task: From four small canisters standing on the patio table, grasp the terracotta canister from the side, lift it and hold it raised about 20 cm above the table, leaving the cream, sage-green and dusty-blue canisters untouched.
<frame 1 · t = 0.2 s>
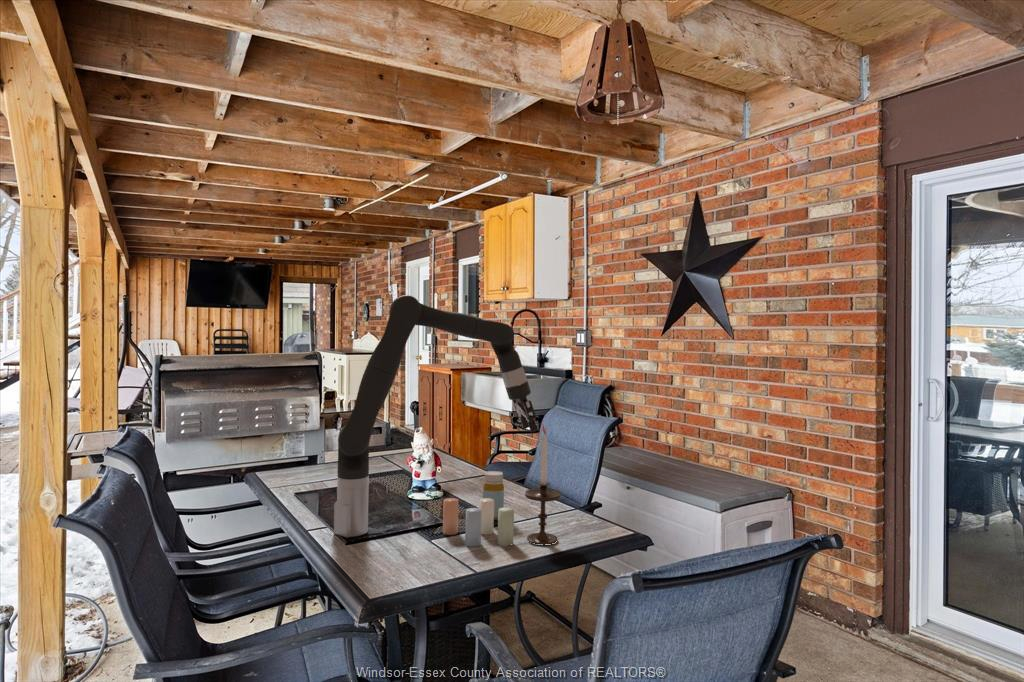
hand: (530, 429, 201), 30 cm above the table, tool tilted 20°, fingers open, 8 cm apart
bottle: (492, 518, 205), on the table
sage canister: (505, 543, 181), on the table
terracotta canister: (450, 532, 190), on the table
dusty blue canister: (472, 544, 180), on the table
cream canister: (486, 532, 191), on the table
candlestick: (542, 541, 184), on the table
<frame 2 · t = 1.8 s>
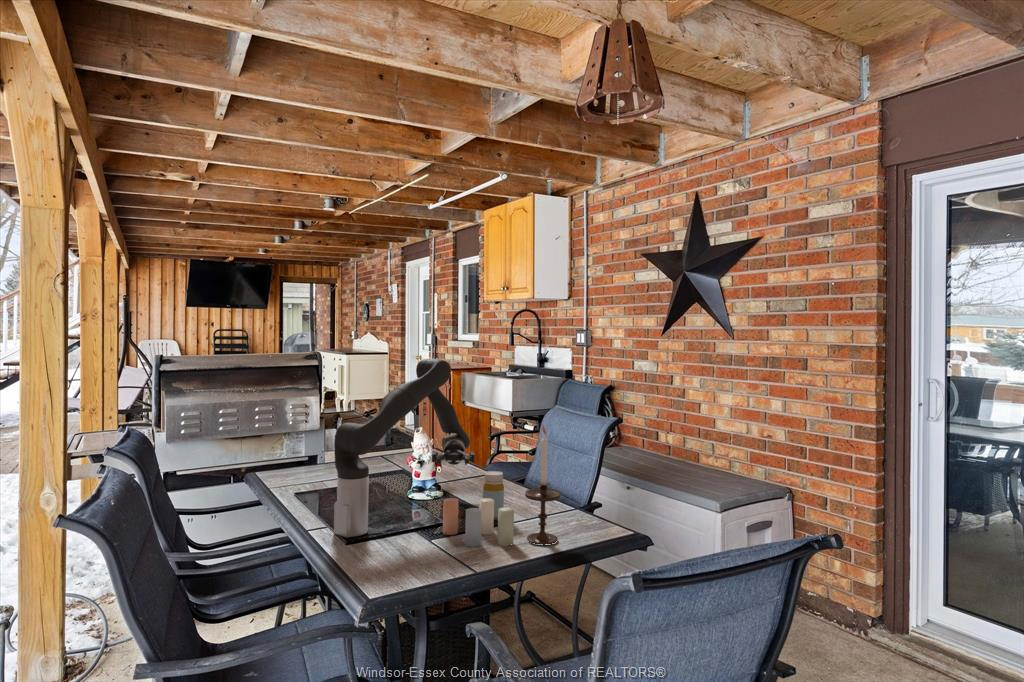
hand: (452, 461, 201), 19 cm above the table, tool horizontal, fingers open, 8 cm apart
nothing on the table moved.
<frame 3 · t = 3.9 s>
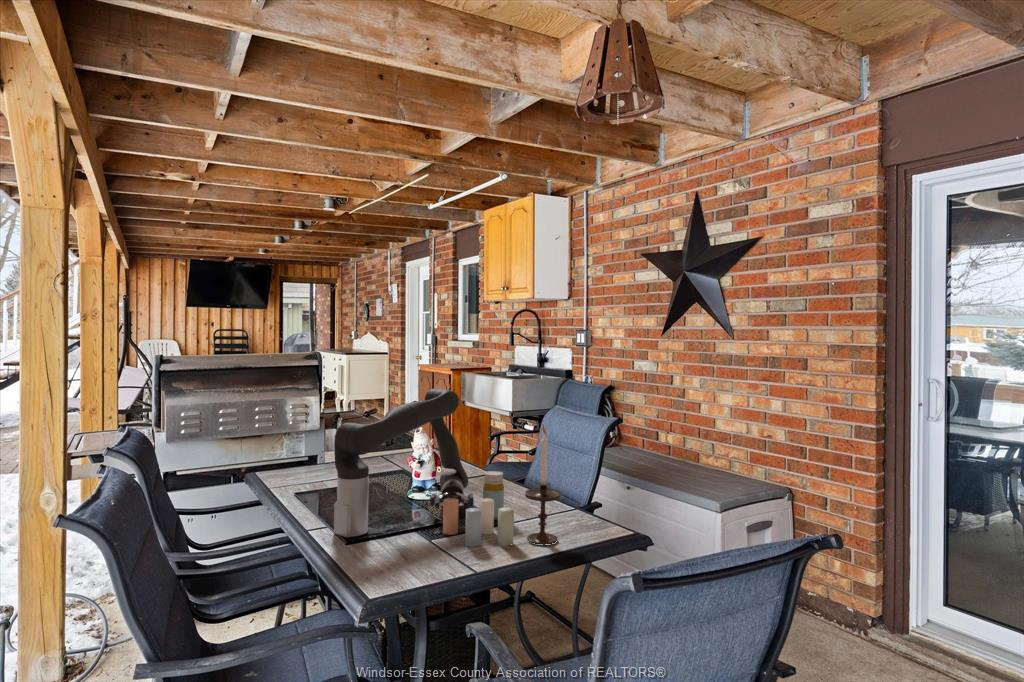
hand: (451, 505, 197), 6 cm above the table, tool horizontal, fingers open, 8 cm apart
nothing on the table moved.
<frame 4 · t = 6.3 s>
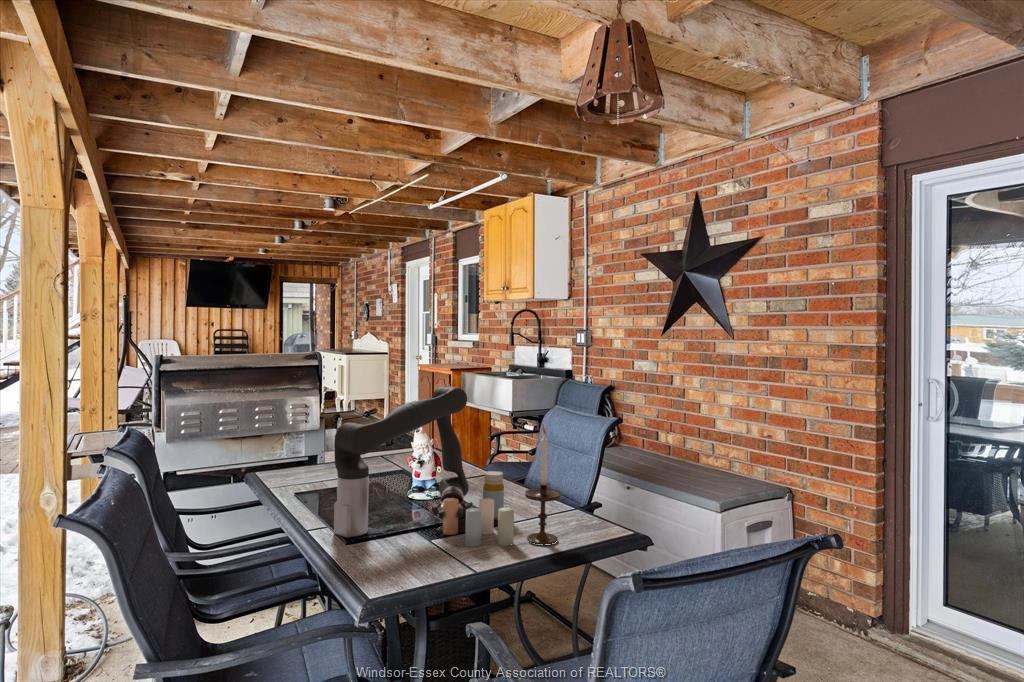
hand: (450, 515, 187), 6 cm above the table, tool horizontal, fingers closed on terracotta canister, 4 cm apart
terracotta canister: (450, 532, 190), on the table, touching gripper
everything else where it was.
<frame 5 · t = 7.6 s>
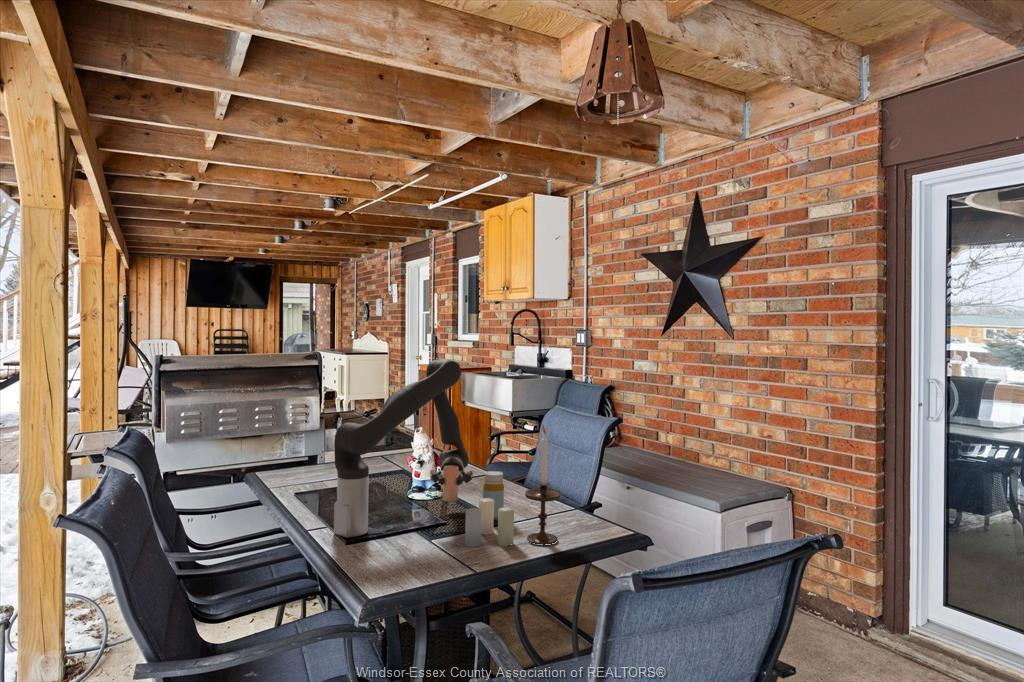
hand: (450, 481, 187), 16 cm above the table, tool horizontal, fingers closed on terracotta canister, 4 cm apart
terracotta canister: (450, 499, 189), point 10 cm above the table, touching gripper
everything else where it was.
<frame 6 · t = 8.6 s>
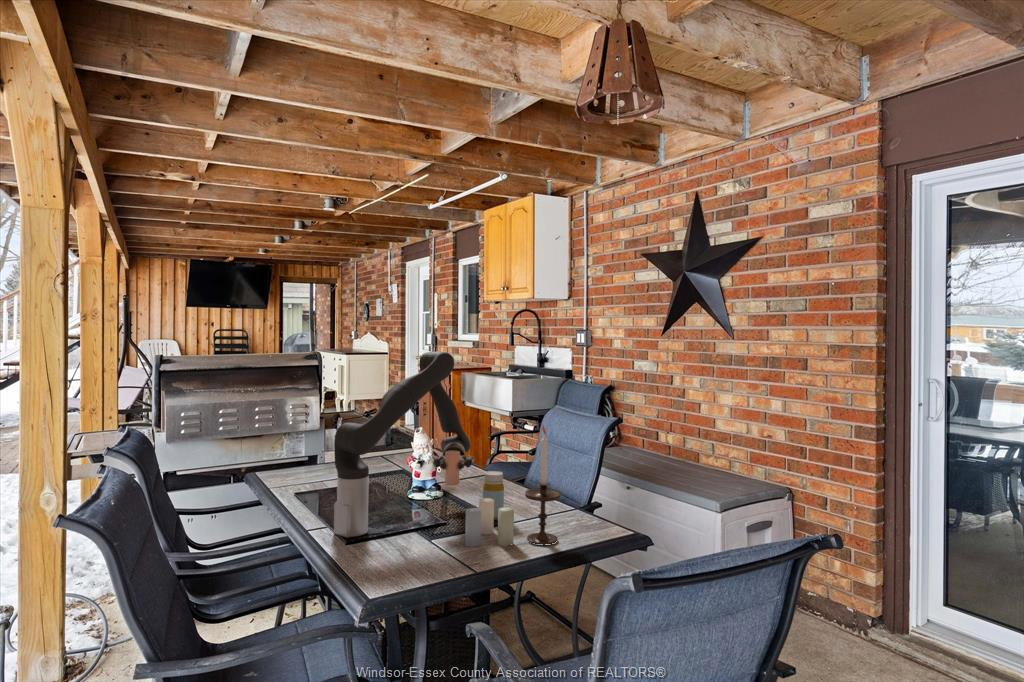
hand: (452, 466, 192), 20 cm above the table, tool horizontal, fingers closed on terracotta canister, 4 cm apart
terracotta canister: (452, 483, 194), point 14 cm above the table, touching gripper
everything else where it was.
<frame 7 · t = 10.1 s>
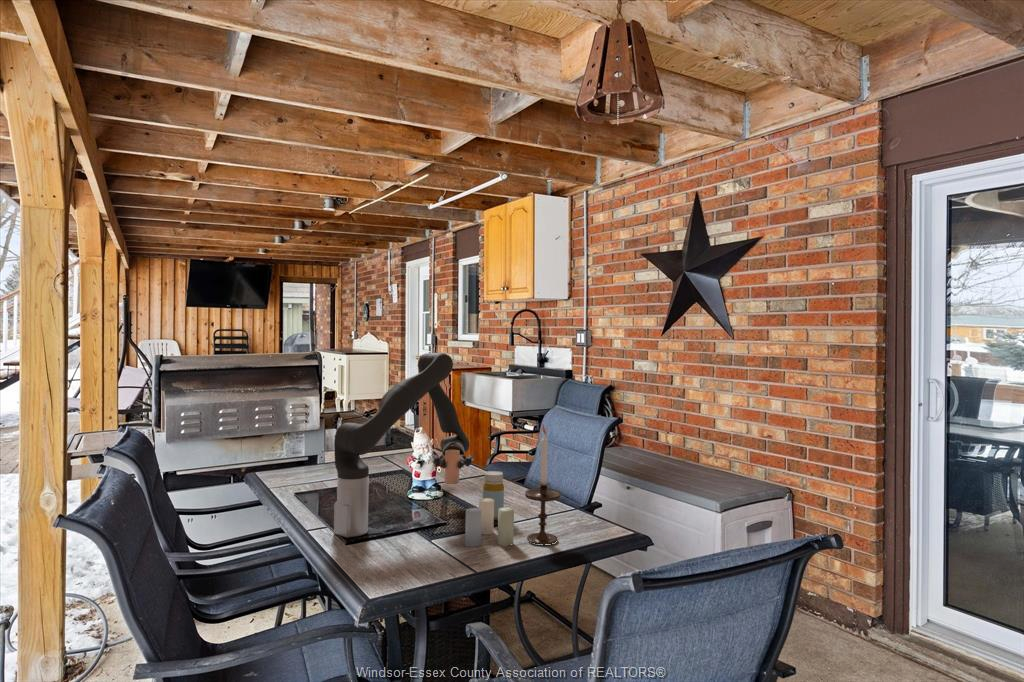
hand: (452, 465, 193), 20 cm above the table, tool horizontal, fingers closed on terracotta canister, 4 cm apart
terracotta canister: (451, 482, 196), point 14 cm above the table, touching gripper
everything else where it was.
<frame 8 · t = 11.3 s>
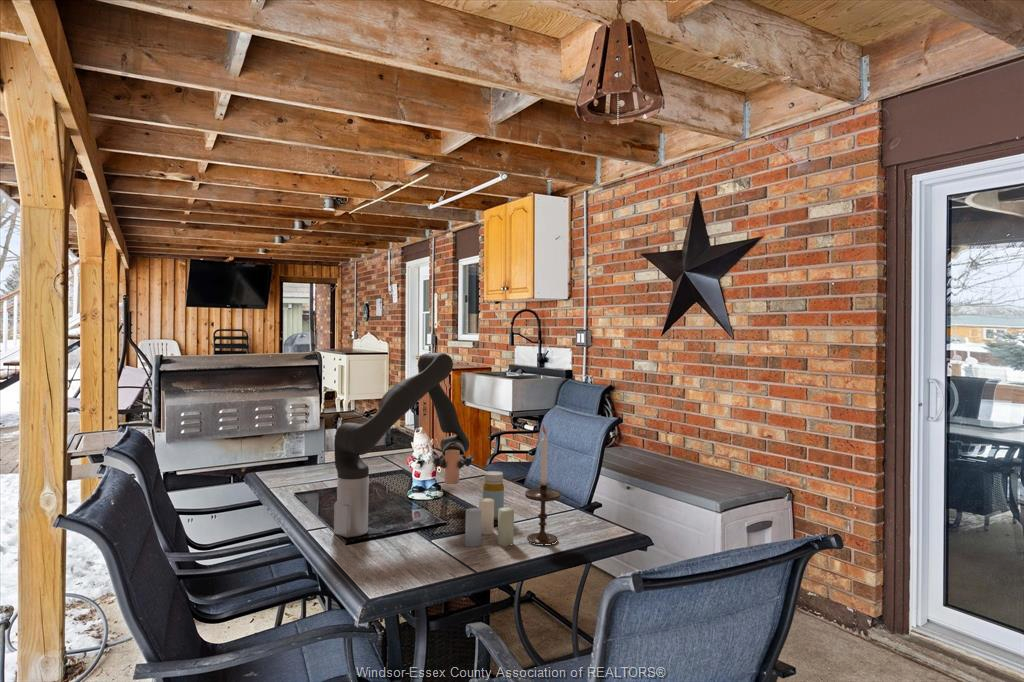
hand: (452, 465, 193), 20 cm above the table, tool horizontal, fingers closed on terracotta canister, 4 cm apart
terracotta canister: (451, 482, 196), point 14 cm above the table, touching gripper
everything else where it was.
at the end: the gripper is holding terracotta canister; terracotta canister point 13.9 cm above the table; cream canister moved 0.0 cm from its start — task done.
